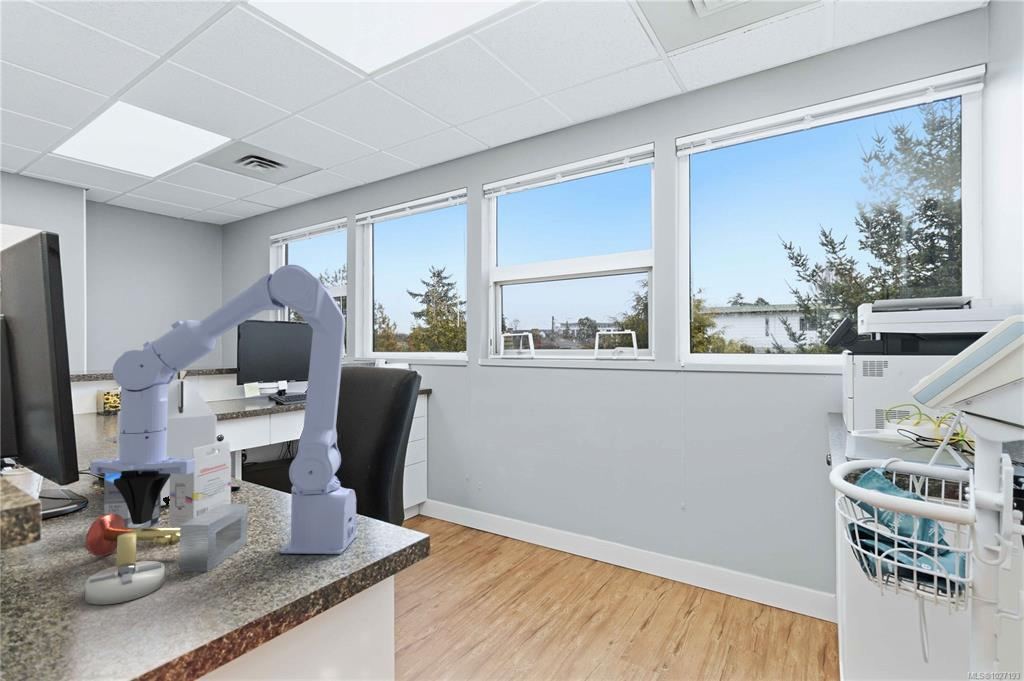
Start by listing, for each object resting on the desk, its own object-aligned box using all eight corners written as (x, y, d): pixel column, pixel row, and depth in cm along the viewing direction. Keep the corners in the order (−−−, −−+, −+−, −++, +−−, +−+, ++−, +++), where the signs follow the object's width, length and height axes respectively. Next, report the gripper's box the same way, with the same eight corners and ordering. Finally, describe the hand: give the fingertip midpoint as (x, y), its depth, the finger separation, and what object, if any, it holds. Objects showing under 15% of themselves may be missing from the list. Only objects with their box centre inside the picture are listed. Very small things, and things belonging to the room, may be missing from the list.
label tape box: (127, 539, 81) (130, 463, 81) (101, 540, 81) (103, 464, 81) (161, 521, 90) (163, 453, 90) (138, 521, 89) (139, 453, 90)
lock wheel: (166, 591, 63) (167, 544, 63) (83, 611, 58) (85, 560, 58) (161, 569, 69) (163, 526, 69) (86, 585, 64) (88, 539, 64)
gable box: (215, 496, 106) (218, 365, 107) (140, 510, 96) (144, 366, 97) (183, 478, 121) (186, 364, 121) (114, 489, 111) (118, 364, 112)
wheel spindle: (139, 570, 64) (139, 563, 64) (128, 576, 63) (128, 569, 63) (125, 570, 64) (125, 563, 64) (113, 576, 63) (114, 569, 63)
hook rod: (198, 547, 77) (199, 509, 77) (172, 562, 71) (173, 522, 71) (117, 546, 77) (118, 508, 77) (84, 562, 71) (85, 521, 71)
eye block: (246, 544, 79) (247, 503, 79) (207, 571, 69) (208, 525, 69) (221, 544, 79) (222, 503, 79) (178, 571, 69) (180, 524, 69)
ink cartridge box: (207, 519, 91) (209, 439, 91) (231, 521, 90) (233, 440, 90) (166, 536, 82) (168, 447, 83) (191, 538, 81) (194, 448, 82)
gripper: (72, 435, 71) (69, 531, 70) (173, 435, 70) (171, 531, 70) (113, 427, 78) (110, 515, 77) (204, 427, 77) (202, 515, 77)
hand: (141, 522), depth 74 cm, fingers closed
